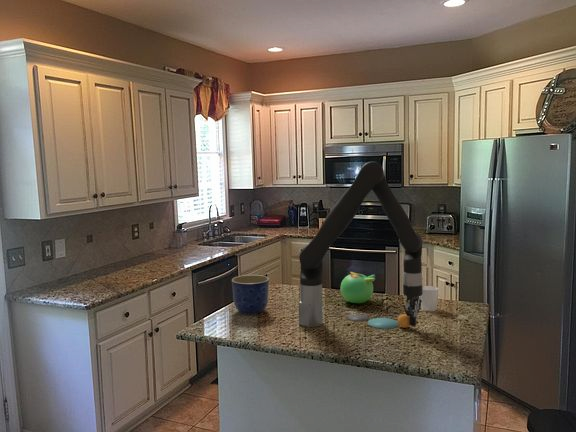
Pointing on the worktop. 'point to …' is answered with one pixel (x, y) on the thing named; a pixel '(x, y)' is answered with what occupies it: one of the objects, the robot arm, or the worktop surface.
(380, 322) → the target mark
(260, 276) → the planter
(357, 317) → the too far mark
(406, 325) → the ball
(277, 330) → the worktop surface
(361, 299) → the toy bird
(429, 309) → the white cup
